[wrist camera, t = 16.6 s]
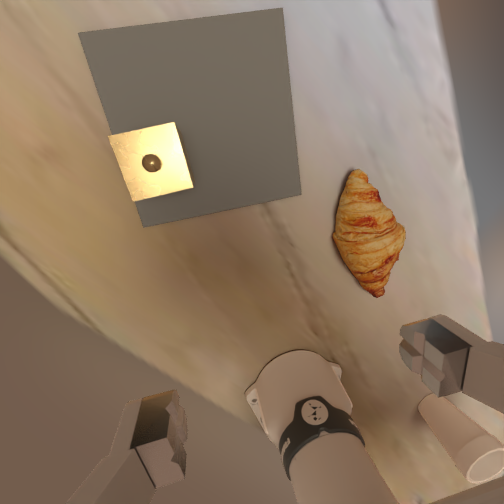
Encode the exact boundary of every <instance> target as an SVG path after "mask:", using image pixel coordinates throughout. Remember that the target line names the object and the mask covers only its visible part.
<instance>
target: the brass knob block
mask: <svg viewBox="0 0 504 504" xmlns="http://www.w3.org/2000/svg"><path fill="white" fill-rule="evenodd" d="M108 138H109V140H110V143H111V146H112V148H113V151H114V153H115V156H116V159H117V161H118V164H119V166H120V169H121V172H122V174H123V177H124V180H125V182H126V185H127V187H128V190H129V193H130V195H131V198H132V200H133V202H134V201H138V200H143V199H147V198H151V197H155V196H160V195H164V194H168V193H172V192H176V191H181V190H185V189H189V188H193V187H194V184H195V179H194V175H193V172H192V168H191V165H190V161H189V158H188V154H187V151H186V147H185V144H184V140H183V137H182V133H181V131H180V129H179V128H178V127H177V125H176V124H175V122H172V123H168V124H163V125H158V126H153V127H149V128H144V129H139V130H134V131H130V132H125V133H120V134H115V135H111V136H108Z"/></svg>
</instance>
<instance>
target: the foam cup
mask: <svg viewBox="0 0 504 504" xmlns="http://www.w3.org/2000/svg"><path fill="white" fill-rule="evenodd" d="M418 410H419V412H420V414H421V415H422V417H423V418H424V420H425V421H426V423H427V424H428V425H429V427H430V428H431V430H432V431H433V433H434V434H435V436H436V437H437V438H438V440H439V441H440V443H441V444H442V446H443V447H444V448H445V450H446V451H447V453H448V454H449V456H450V457H451V459H452V460H453V461H454V463H455V466H456V467H457V468H458V470H459V471H460V472H461V473H462V474H463V476H464V477H465V478H466V479H467V480H468V481H469V482H471V483H481V482H484V481H487V480H489V479H491V478H493V477H494V476H496V475H497V474H499V473H500V472H501V471H502V470H503V469H504V445H503V444H502V443H501V442H500V441H499V440H498V439H497V438H496V437H495V436H494V435H491V434H490V433H488V432H487V431H486V430H485V429H483V428H482V427H481V426H480V425H478V424H477V423H476V422H475V421H473V420H472V419H471V418H469V417H468V416H467V415H466V414H464V413H463V412H462V411H461V410H459V409H458V408H457V407H456V406H454V405H453V404H452V403H451V402H449V401H448V400H447V399H446V398H444V397H443V396H442V397H439V398H438V397H437V396H436V395H435V394H430V395H428V396H427V397H425V398H424V399H423V400H422V401H421V402H420V404H419V406H418Z"/></svg>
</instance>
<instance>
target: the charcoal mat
mask: <svg viewBox="0 0 504 504" xmlns="http://www.w3.org/2000/svg"><path fill="white" fill-rule="evenodd" d="M78 35H79V38H80V41H81V44H82V47H83V50H84V53H85V56H86V59H87V62H88V65H89V68H90V71H91V74H92V77H93V79H94V82H95V85H96V88H97V91H98V94H99V97H100V100H101V103H102V106H103V109H104V112H105V115H106V118H107V121H108V124H109V127H110V130H111V133H112V135H115V134H120V133H125V132H130V131H134V130H139V129H144V128H149V127H153V126H158V125H163V124H168V123H172V122H175V124H176V125H177V127H178V128H179V129H180V131H181V133H182V137H183V140H184V144H185V147H186V151H187V154H188V158H189V161H190V165H191V168H192V172H193V175H194V179H195V184H194V187H193V188H189V189H185V190H181V191H176V192H172V193H168V194H164V195H160V196H155V197H151V198H147V199H143V200H138V201H135V204H136V207H137V210H138V213H139V216H140V219H141V222H142V225H143V228H144V227H149V226H154V225H159V224H163V223H168V222H173V221H178V220H183V219H187V218H192V217H197V216H202V215H207V214H211V213H216V212H221V211H226V210H231V209H235V208H240V207H245V206H250V205H255V204H259V203H264V202H269V201H274V200H279V199H283V198H288V197H293V196H298V195H301V185H300V175H299V165H298V156H297V146H296V136H295V126H294V116H293V106H292V96H291V86H290V76H289V66H288V56H287V46H286V36H285V26H284V16H283V8H276V9H268V10H260V11H252V12H243V13H235V14H227V15H219V16H211V17H203V18H194V19H186V20H178V21H170V22H162V23H154V24H145V25H137V26H129V27H121V28H113V29H105V30H97V31H88V32H80V33H78Z"/></svg>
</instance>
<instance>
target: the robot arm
mask: <svg viewBox="0 0 504 504" xmlns="http://www.w3.org/2000/svg"><path fill="white" fill-rule="evenodd" d="M400 335H401V336H402V337H403V340H402V341H401V343H400V344H399V352H400V355H401V357H402V360H403V361H404V363H405V364H406V366H407V367H408V368H409V369H410V370H411V371H413V372H415V373H417V374H420V375H421V379H422V382H423V383H424V384H425V385H426V386H427V387H428V388H429V389H430V390H431V391H432V392H433V393H434V394H435V395H436V396H437V397H438V398H439V397H442V396H446V395H450V394H453V393H457V392H460V391H462V393H464V394H466V395H468V396H470V397H472V398H474V399H476V400H478V401H480V402H482V403H484V404H486V405H488V406H490V407H492V408H494V409H496V410H498V411H500V412H501V413H503V414H504V344H500V343H497V342H493V341H491V342H487V341H485V340H483V339H482V338H480V337H479V336H477V335H476V334H474V333H472V332H471V331H469V330H468V329H466V328H464V327H463V326H461V325H460V324H458V323H456V322H455V321H453V320H452V319H450V318H449V317H447V316H445V315H441V314H440V315H437V316H433V317H430V318H427V319H423V320H420V321H416V322H413V323H409V324H406V325H403V326H402V327H401V329H400ZM341 374H342V370H341V368H340V366H339V365H338V364H336V363H332V362H328V361H326V360H325V359H324V358H323V357H322V356H320V355H319V354H317V353H314V352H311V351H305V350H299V351H292V352H288V353H285V354H283V355H281V356H279V357H277V358H275V359H274V360H272V361H271V362H270V363H269V364H268V365H267V366H266V367H265V368H264V369H263V370H262V372H261V373H260V375H259V377H258V379H257V381H256V382H255V383H254V384H253V385H252V386H251V387H249V388H248V389H247V391H246V392H245V396H246V399H247V401H248V403H249V405H250V407H251V408H252V410H253V412H254V414H255V416H256V417H257V419H258V421H259V423H260V424H261V426H262V428H263V430H264V431H265V433H266V435H267V437H268V439H269V440H270V441H271V442H273V443H274V444H275V446H276V447H277V449H278V450H279V451H280V454H281V460H282V464H283V467H284V469H285V471H286V474H287V477H288V478H289V480H290V481H291V482H292V485H293V489H294V493H295V496H296V500H297V503H298V504H399V502H398V501H397V500H396V498H395V497H394V495H393V493H392V492H391V490H390V489H389V487H388V486H387V484H386V482H385V481H384V479H383V478H382V476H381V474H380V473H379V471H378V469H377V468H376V466H375V464H374V463H373V461H372V459H371V458H370V456H369V454H368V452H367V451H366V449H365V443H364V440H363V438H362V436H361V433H360V431H359V429H358V427H357V425H356V424H355V423H354V421H353V420H352V418H351V413H352V407H353V405H352V402H351V400H350V398H349V396H348V394H347V393H346V391H345V389H344V387H343V385H342V383H341V382H340V379H341ZM179 398H180V397H179V395H178V392H177V390H171V391H167V392H163V393H159V394H155V395H151V396H147V397H144V398H141V399H137V400H133V401H129V402H127V404H126V405H125V407H124V410H123V413H122V416H121V419H120V422H119V426H118V429H117V432H116V435H115V438H114V441H113V444H112V448H111V450H110V454H109V456H107V457H104V458H103V459H102V460H101V461H100V462H99V464H98V465H97V466H96V467H95V468H94V470H93V471H92V472H91V473H90V475H89V476H88V477H87V478H86V479H85V481H84V482H83V483H82V484H81V485H80V487H79V488H78V489H77V490H76V492H75V493H74V494H73V495H72V496H71V498H70V499H69V500H68V501H67V502H66V504H150V502H151V500H152V498H153V496H154V494H155V492H156V490H155V489H157V488H159V487H162V486H165V485H168V484H171V483H174V482H176V481H179V480H182V479H185V469H186V452H185V449H184V447H183V445H184V443H185V442H186V440H187V431H188V429H187V418H186V414H185V410H184V408H183V406H181V405H179ZM429 504H504V476H503V477H500V478H497V479H494V480H492V481H489V482H486V483H484V484H481V485H478V486H475V487H473V488H470V489H467V490H465V491H462V492H459V493H456V494H454V495H451V496H448V497H446V498H443V499H440V500H437V501H435V502H432V503H429Z"/></svg>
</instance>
